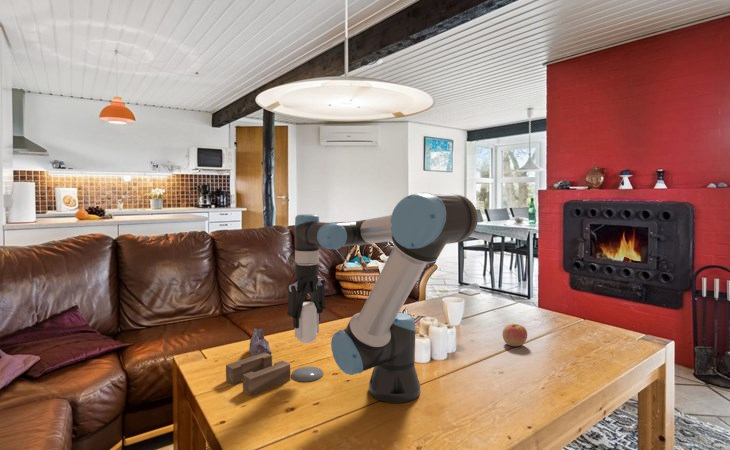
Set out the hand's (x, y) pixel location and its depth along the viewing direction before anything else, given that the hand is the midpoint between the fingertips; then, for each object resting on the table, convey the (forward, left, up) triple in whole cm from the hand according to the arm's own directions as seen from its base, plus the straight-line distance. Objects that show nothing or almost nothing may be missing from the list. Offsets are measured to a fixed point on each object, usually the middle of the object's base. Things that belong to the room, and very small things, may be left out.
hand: (306, 334), depth 128 cm
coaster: (0, 0, -13) cm, 13 cm away
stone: (+24, +2, -14) cm, 27 cm away
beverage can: (0, 0, -2) cm, 2 cm away
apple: (-38, -72, -13) cm, 83 cm away
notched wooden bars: (+8, +13, -13) cm, 20 cm away
